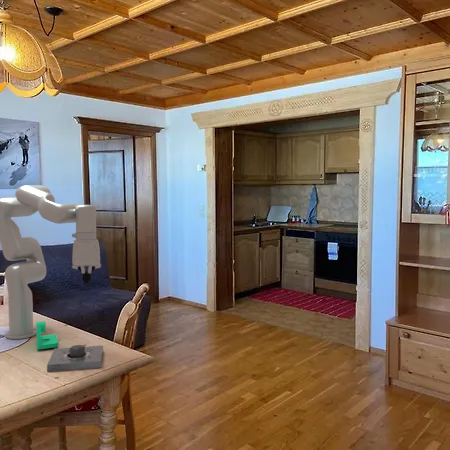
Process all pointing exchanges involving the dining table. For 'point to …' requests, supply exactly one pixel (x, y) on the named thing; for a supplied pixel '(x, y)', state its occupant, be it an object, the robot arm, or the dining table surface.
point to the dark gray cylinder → (77, 351)
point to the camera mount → (45, 337)
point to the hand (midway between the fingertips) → (86, 282)
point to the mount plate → (75, 359)
